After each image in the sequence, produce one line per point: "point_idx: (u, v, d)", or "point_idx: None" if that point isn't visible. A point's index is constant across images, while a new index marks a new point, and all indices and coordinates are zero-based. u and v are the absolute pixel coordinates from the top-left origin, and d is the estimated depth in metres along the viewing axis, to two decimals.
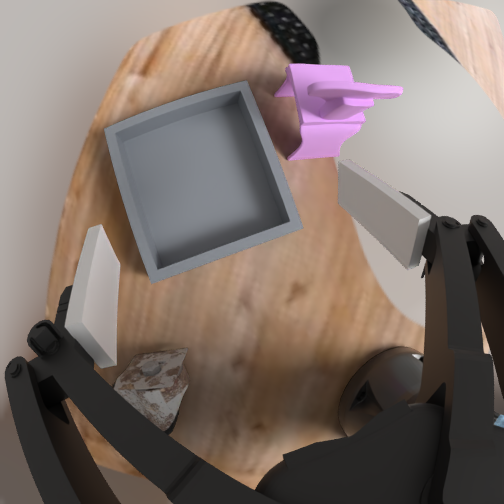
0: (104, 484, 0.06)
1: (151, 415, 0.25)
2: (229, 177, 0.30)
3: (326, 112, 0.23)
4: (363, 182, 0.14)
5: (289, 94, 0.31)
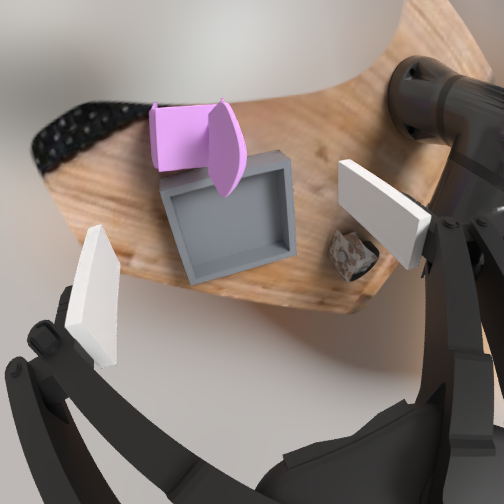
0: (103, 484, 0.06)
1: (367, 264, 0.48)
2: (233, 196, 0.39)
3: None
4: (363, 182, 0.14)
5: None
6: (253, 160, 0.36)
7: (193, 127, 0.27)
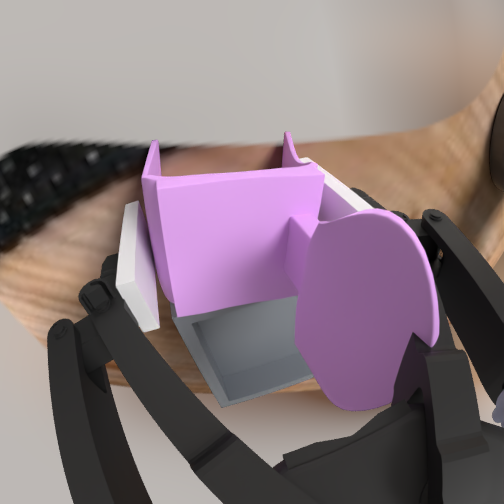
0: (130, 458, 0.07)
1: None
2: None
3: None
4: None
5: None
6: None
7: (254, 226, 0.12)
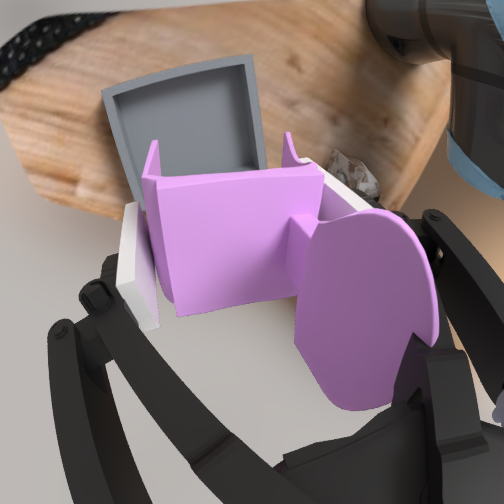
0: (130, 458, 0.07)
1: None
2: (189, 103, 0.30)
3: None
4: None
5: None
6: None
7: (254, 226, 0.12)
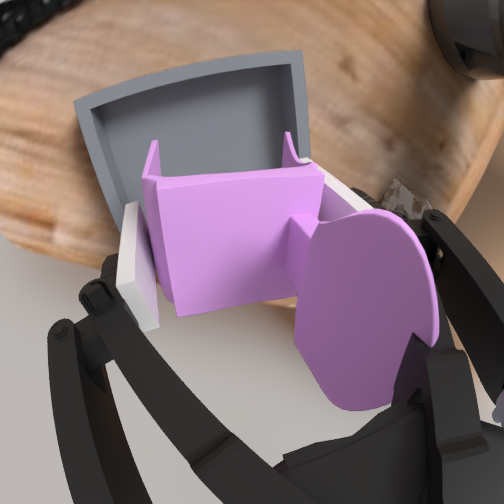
0: (130, 458, 0.07)
1: None
2: (206, 118, 0.21)
3: None
4: None
5: None
6: None
7: (254, 227, 0.12)
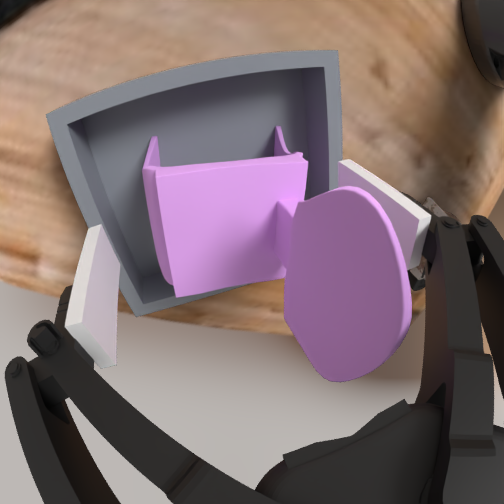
0: (103, 484, 0.06)
1: None
2: (215, 132, 0.18)
3: None
4: (363, 182, 0.14)
5: None
6: None
7: (244, 210, 0.13)
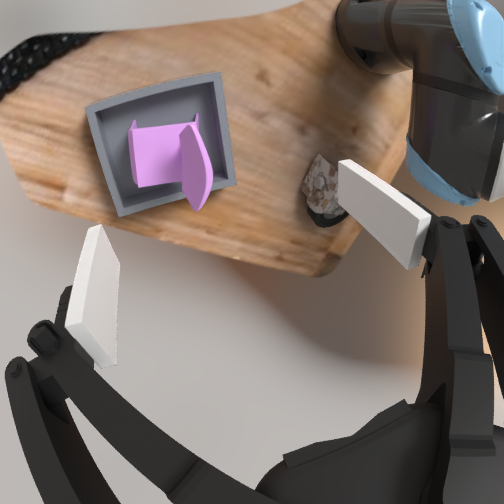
0: (104, 484, 0.06)
1: None
2: (164, 117, 0.33)
3: None
4: (363, 182, 0.14)
5: None
6: (183, 77, 0.30)
7: (167, 145, 0.29)
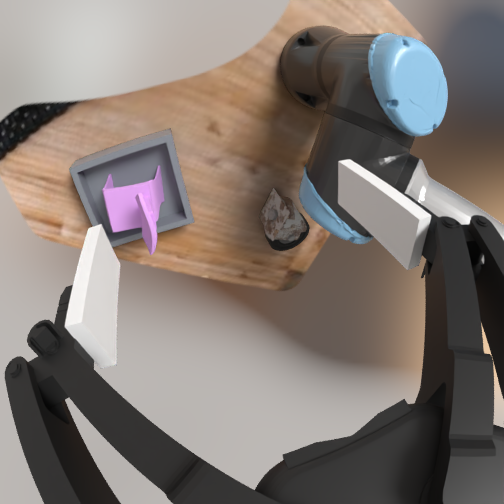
0: (103, 484, 0.06)
1: (295, 230, 0.53)
2: (133, 170, 0.43)
3: None
4: (363, 182, 0.14)
5: None
6: (144, 138, 0.39)
7: (131, 201, 0.38)
